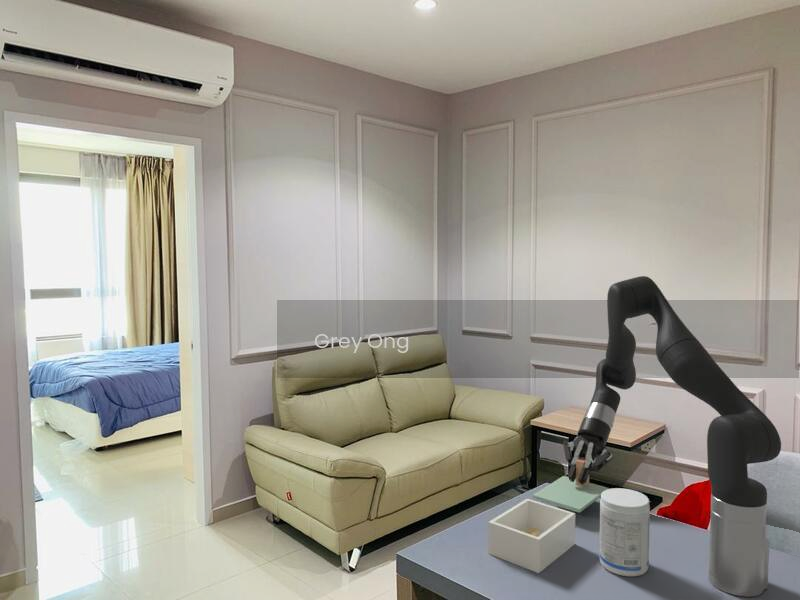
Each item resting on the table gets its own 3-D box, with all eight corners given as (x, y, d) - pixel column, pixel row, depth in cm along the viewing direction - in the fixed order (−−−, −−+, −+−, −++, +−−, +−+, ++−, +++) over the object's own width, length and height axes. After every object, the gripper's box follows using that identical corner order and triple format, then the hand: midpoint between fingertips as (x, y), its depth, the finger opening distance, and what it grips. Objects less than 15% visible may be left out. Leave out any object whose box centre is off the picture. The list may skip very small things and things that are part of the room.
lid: (563, 481, 160) (563, 452, 159) (608, 494, 151) (609, 463, 151) (532, 501, 148) (532, 470, 147) (579, 515, 139) (580, 482, 139)
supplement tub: (615, 549, 129) (616, 483, 127) (657, 567, 121) (659, 497, 120) (589, 564, 122) (590, 495, 121) (632, 584, 115) (634, 510, 114)
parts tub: (526, 527, 139) (527, 498, 139) (574, 544, 131) (575, 513, 131) (488, 553, 127) (488, 521, 127) (538, 573, 119) (539, 539, 119)
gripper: (568, 411, 162) (546, 467, 154) (618, 421, 152) (597, 481, 144) (577, 426, 166) (555, 481, 158) (626, 436, 157) (606, 495, 149)
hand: (575, 481), depth 151 cm, fingers closed on lid
